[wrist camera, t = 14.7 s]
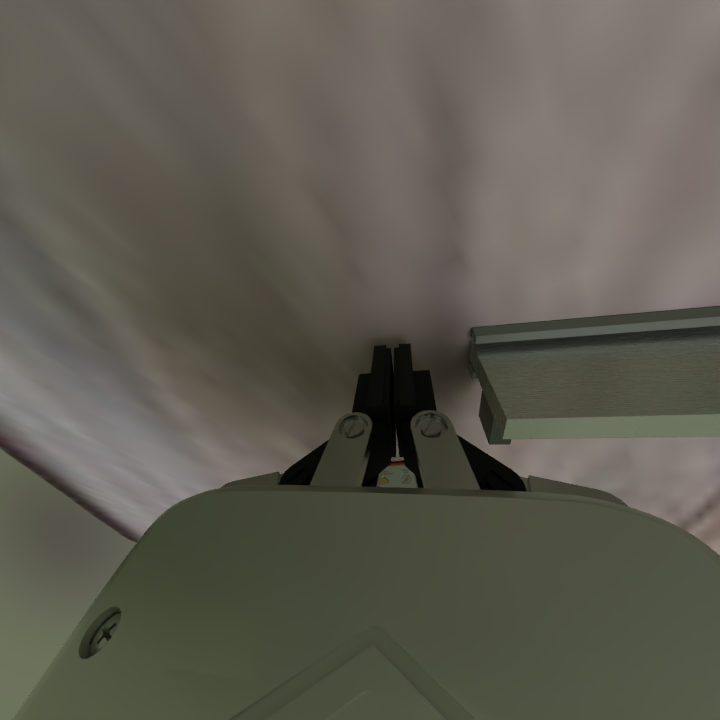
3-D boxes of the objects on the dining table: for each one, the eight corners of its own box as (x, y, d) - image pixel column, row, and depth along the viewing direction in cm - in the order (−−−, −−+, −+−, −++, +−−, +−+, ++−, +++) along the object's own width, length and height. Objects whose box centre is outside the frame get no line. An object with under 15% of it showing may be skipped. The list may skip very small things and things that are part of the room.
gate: (467, 382, 14) (496, 466, 10) (470, 340, 12) (507, 419, 8) (747, 367, 12) (936, 469, 8) (791, 315, 10) (1053, 405, 6)
